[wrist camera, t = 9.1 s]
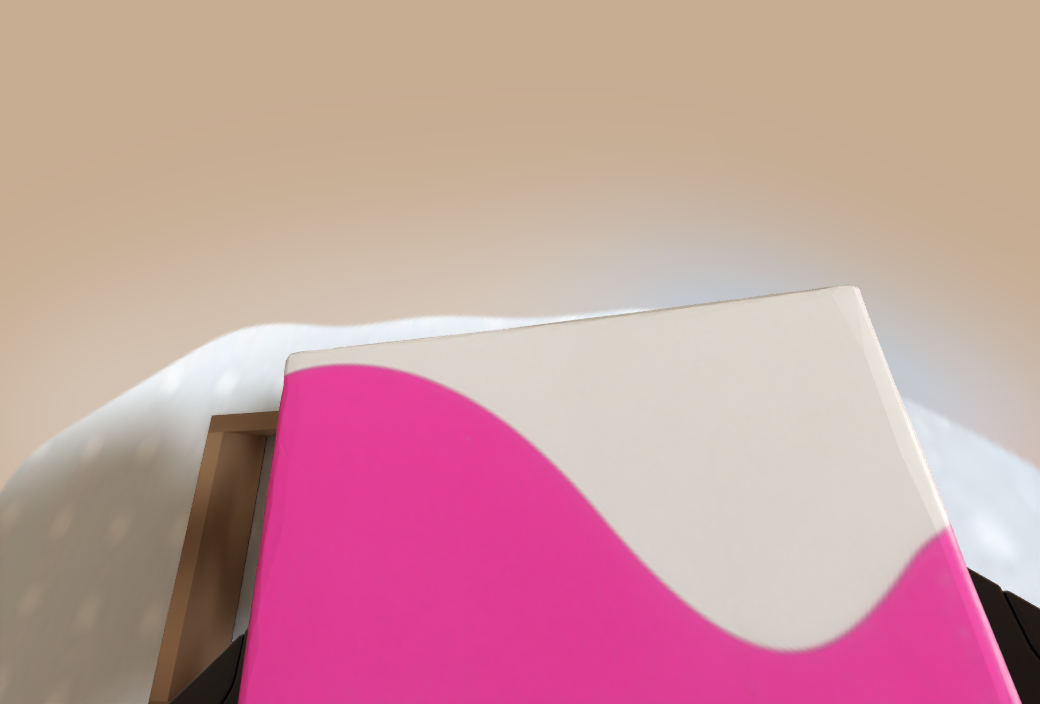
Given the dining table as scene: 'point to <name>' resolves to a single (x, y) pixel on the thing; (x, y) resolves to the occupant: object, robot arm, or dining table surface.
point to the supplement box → (613, 520)
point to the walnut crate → (213, 551)
